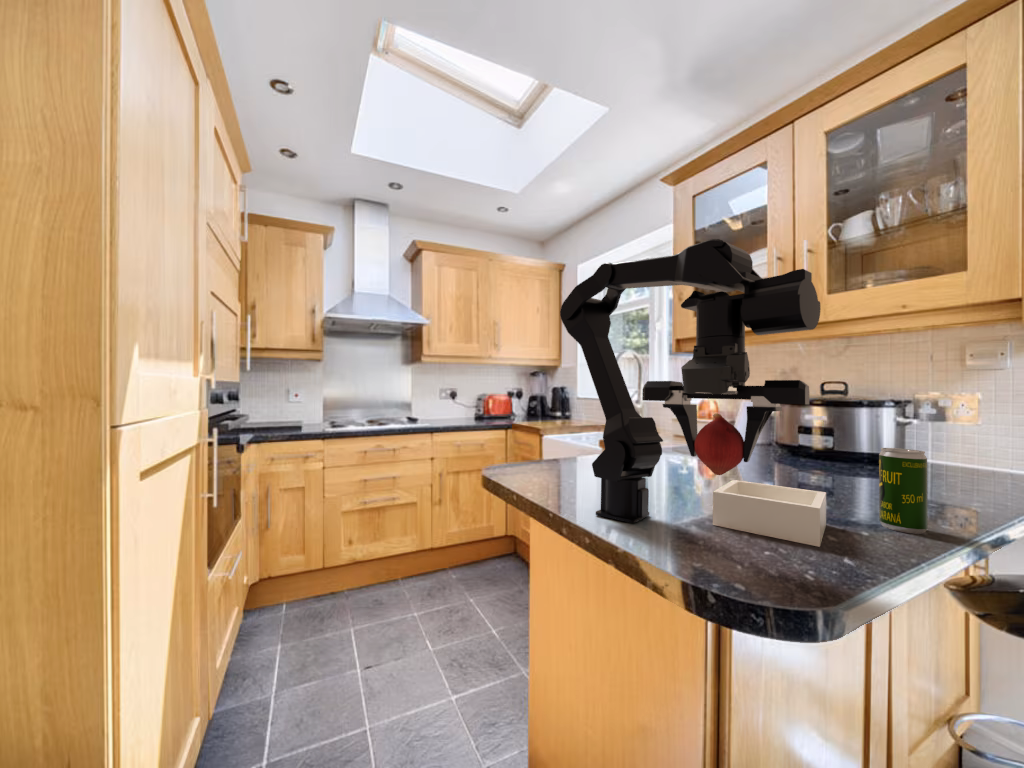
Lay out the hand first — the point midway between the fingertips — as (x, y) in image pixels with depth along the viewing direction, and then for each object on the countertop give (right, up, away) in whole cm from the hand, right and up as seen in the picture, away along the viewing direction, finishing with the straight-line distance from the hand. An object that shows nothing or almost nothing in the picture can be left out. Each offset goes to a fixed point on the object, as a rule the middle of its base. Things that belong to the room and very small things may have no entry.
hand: (719, 458), depth 53 cm
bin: (+13, -12, +10) cm, 20 cm away
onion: (0, -2, 0) cm, 2 cm away
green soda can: (+33, -13, +9) cm, 37 cm away
